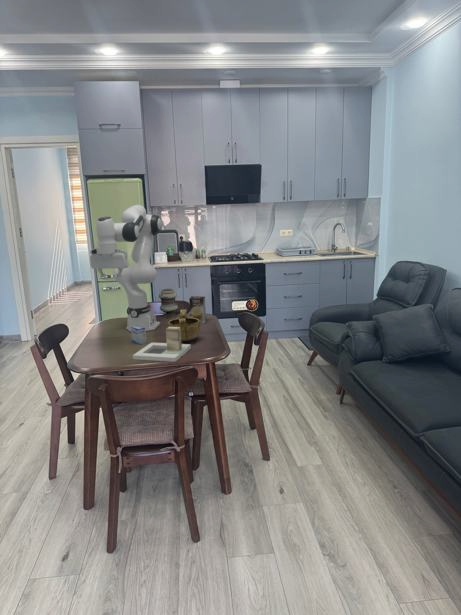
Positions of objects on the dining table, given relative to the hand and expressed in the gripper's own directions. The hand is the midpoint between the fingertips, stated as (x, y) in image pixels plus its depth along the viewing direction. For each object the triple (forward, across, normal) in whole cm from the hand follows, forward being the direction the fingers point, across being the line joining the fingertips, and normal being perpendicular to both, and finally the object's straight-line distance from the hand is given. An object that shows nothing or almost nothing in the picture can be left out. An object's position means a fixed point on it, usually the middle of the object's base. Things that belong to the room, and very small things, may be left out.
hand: (111, 277), depth 213 cm
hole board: (+37, -29, +7) cm, 48 cm away
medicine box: (+37, -8, -8) cm, 39 cm away
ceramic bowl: (+37, -32, -15) cm, 51 cm away
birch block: (+35, -35, +7) cm, 50 cm away
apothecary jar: (+37, 0, -66) cm, 75 cm away
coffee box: (+37, -26, -52) cm, 69 cm away
